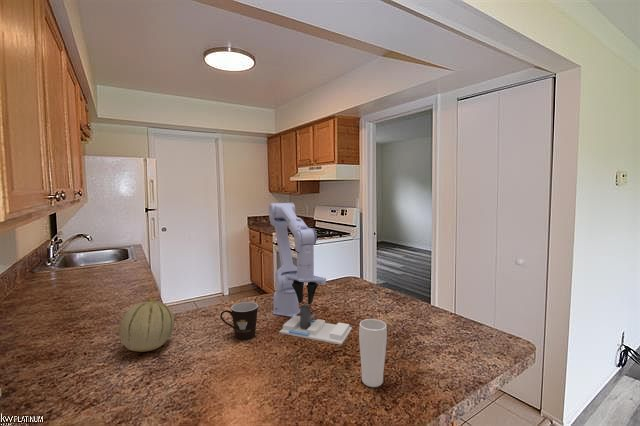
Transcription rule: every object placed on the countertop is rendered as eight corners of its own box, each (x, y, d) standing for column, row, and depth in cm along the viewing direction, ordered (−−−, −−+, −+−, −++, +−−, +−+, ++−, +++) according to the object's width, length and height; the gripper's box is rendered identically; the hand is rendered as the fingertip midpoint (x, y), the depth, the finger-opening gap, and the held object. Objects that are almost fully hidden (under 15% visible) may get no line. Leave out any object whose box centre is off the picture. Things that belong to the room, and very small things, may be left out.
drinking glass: (387, 376, 81) (388, 320, 80) (384, 392, 74) (384, 331, 73) (361, 371, 83) (362, 317, 82) (356, 387, 77) (356, 327, 75)
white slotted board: (279, 333, 106) (279, 326, 105) (295, 319, 117) (295, 313, 116) (341, 344, 97) (341, 338, 97) (352, 328, 108) (352, 322, 108)
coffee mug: (263, 333, 106) (263, 304, 105) (247, 344, 98) (246, 313, 97) (236, 326, 110) (235, 299, 110) (218, 337, 103) (218, 307, 102)
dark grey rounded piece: (298, 328, 107) (298, 307, 107) (310, 317, 117) (310, 297, 116) (308, 330, 106) (307, 309, 105) (319, 318, 115) (319, 299, 115)
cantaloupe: (117, 367, 85) (114, 314, 84) (122, 344, 98) (120, 297, 97) (176, 354, 92) (174, 304, 91) (174, 333, 105) (172, 290, 104)
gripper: (280, 264, 106) (281, 303, 107) (320, 268, 100) (320, 309, 101) (290, 260, 112) (290, 297, 113) (328, 263, 107) (328, 302, 108)
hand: (305, 302), depth 108 cm, fingers open, 3 cm apart
